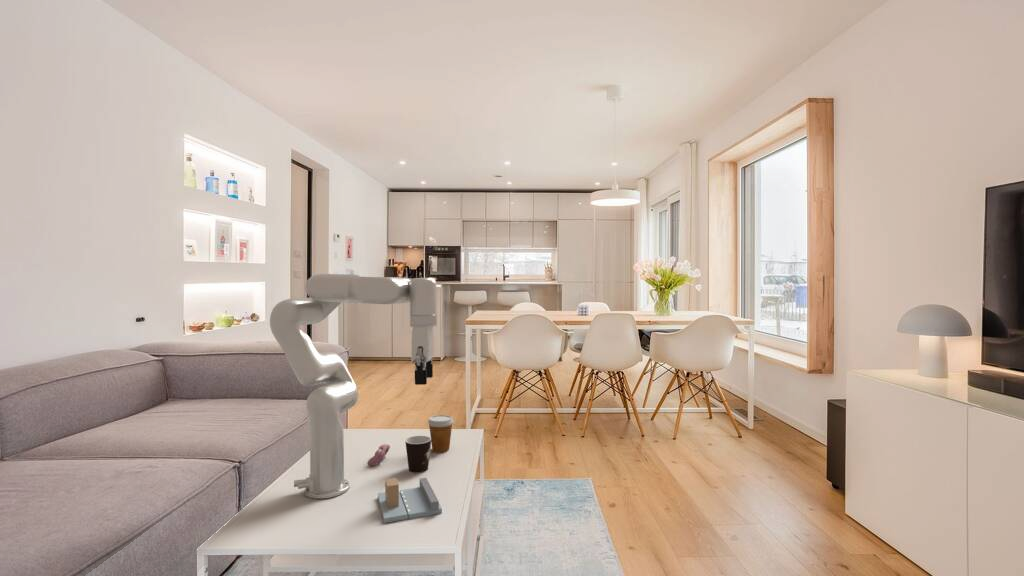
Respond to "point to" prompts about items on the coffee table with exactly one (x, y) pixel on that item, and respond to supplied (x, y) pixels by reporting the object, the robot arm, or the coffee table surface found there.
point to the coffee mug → (418, 453)
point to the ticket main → (420, 500)
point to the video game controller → (379, 455)
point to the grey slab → (392, 502)
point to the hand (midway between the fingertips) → (424, 380)
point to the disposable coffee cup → (440, 432)
